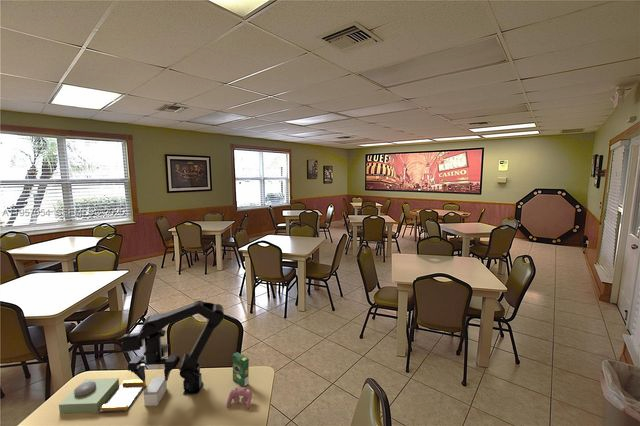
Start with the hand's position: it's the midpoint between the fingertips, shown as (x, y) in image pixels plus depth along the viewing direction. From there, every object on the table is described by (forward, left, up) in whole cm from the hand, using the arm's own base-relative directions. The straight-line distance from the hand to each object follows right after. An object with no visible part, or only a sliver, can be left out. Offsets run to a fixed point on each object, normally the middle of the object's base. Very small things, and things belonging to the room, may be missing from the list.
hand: (155, 380), depth 121 cm
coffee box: (-34, -7, -8) cm, 35 cm away
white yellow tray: (+13, 0, -7) cm, 15 cm away
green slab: (+26, 0, -7) cm, 27 cm away
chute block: (0, 0, -8) cm, 8 cm away
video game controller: (-36, +5, -8) cm, 37 cm away
